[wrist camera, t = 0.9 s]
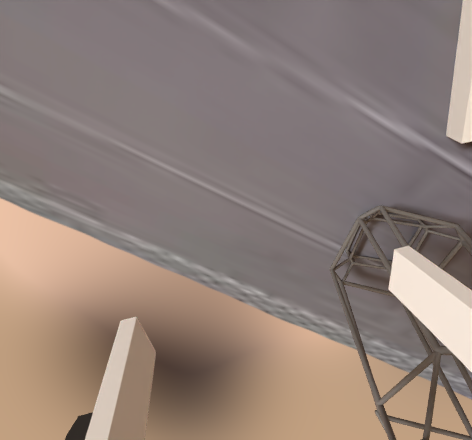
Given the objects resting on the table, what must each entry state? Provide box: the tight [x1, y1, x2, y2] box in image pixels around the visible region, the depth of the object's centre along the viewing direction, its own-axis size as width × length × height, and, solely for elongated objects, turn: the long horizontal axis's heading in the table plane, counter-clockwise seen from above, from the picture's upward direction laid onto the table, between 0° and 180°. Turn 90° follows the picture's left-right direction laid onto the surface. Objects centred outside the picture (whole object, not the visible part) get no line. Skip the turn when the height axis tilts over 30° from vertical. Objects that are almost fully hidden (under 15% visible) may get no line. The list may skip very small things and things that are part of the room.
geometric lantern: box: [330, 206, 472, 440], centre depth 22 cm, size 16×16×35 cm
